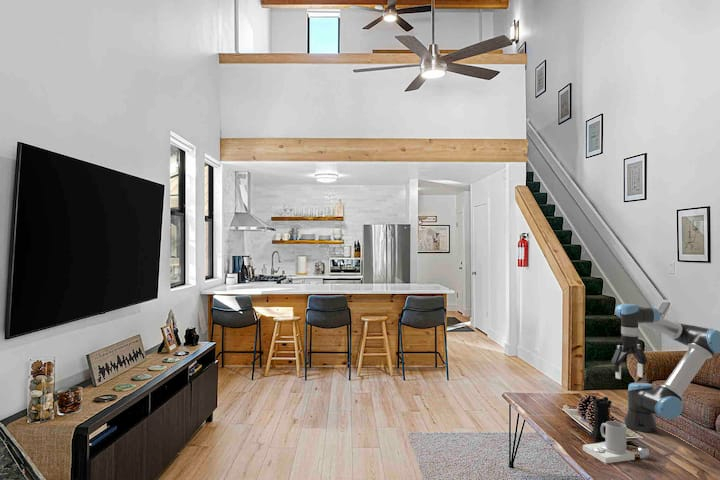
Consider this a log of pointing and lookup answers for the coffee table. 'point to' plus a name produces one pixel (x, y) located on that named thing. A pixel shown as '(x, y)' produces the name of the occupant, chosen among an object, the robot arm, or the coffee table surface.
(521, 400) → the coffee table surface
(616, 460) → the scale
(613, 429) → the mug
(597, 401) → the chess piece
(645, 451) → the spacer
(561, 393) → the coffee table surface
